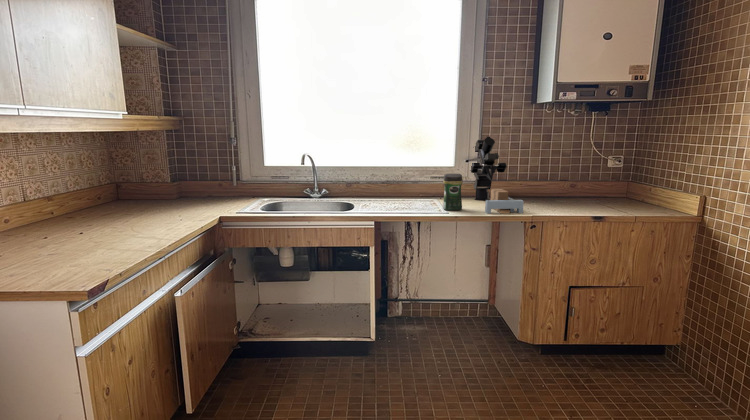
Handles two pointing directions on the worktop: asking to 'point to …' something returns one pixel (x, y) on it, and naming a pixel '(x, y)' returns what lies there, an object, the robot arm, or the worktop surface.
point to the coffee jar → (452, 192)
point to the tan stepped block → (499, 198)
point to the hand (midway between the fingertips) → (491, 179)
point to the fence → (504, 205)
